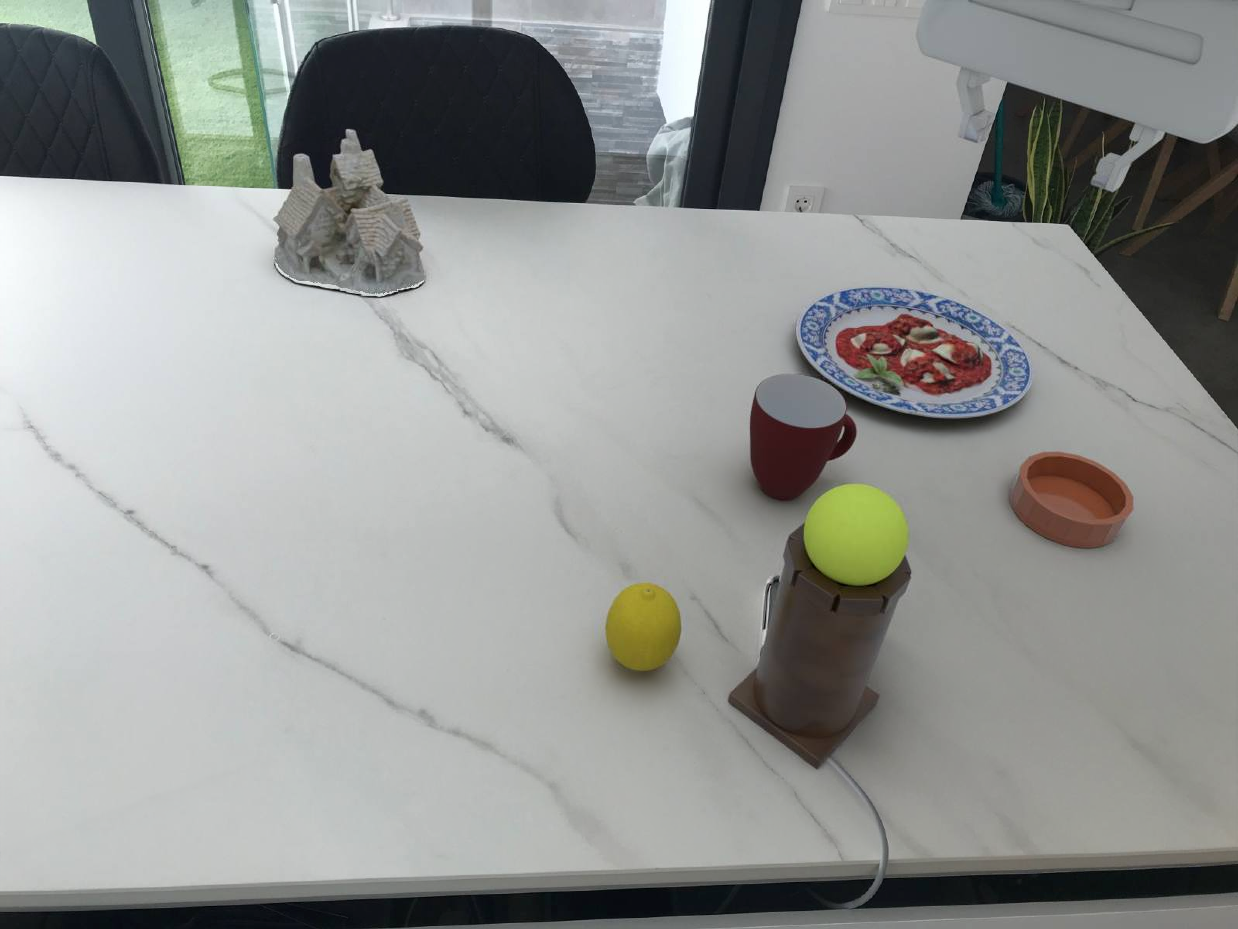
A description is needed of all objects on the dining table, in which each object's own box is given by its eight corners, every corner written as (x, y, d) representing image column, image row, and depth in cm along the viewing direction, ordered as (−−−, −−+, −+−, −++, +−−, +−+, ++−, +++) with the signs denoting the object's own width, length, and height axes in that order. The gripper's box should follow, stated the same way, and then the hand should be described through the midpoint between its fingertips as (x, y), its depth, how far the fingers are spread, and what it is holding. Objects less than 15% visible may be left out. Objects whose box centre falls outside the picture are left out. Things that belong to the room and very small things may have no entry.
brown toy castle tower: (877, 703, 73) (934, 557, 63) (817, 769, 68) (869, 623, 58) (789, 642, 77) (830, 496, 67) (727, 701, 72) (761, 553, 62)
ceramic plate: (904, 282, 123) (910, 261, 121) (1075, 390, 107) (1086, 367, 105) (746, 333, 111) (750, 311, 109) (911, 462, 95) (920, 438, 93)
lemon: (678, 691, 72) (691, 620, 67) (604, 692, 72) (611, 620, 67) (670, 633, 77) (682, 562, 71) (600, 634, 76) (606, 562, 71)
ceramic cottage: (265, 247, 118) (251, 127, 108) (398, 231, 125) (396, 117, 115) (296, 318, 108) (284, 194, 98) (439, 297, 115) (441, 179, 105)
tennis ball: (912, 571, 64) (940, 499, 60) (859, 623, 60) (886, 550, 56) (830, 521, 67) (851, 449, 63) (775, 568, 63) (794, 494, 59)
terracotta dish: (1136, 511, 92) (1150, 488, 90) (1095, 565, 86) (1108, 541, 84) (1036, 461, 97) (1047, 437, 95) (990, 508, 91) (1001, 484, 89)
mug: (812, 444, 96) (834, 360, 90) (862, 495, 91) (889, 410, 84) (721, 470, 92) (737, 384, 86) (767, 525, 87) (788, 437, 80)
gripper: (1330, -34, 53) (1211, 203, 62) (985, -110, 63) (925, 104, 72) (1299, -17, 49) (1177, 233, 58) (938, -101, 59) (881, 125, 68)
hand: (1036, 161), depth 65 cm, fingers open, 8 cm apart
